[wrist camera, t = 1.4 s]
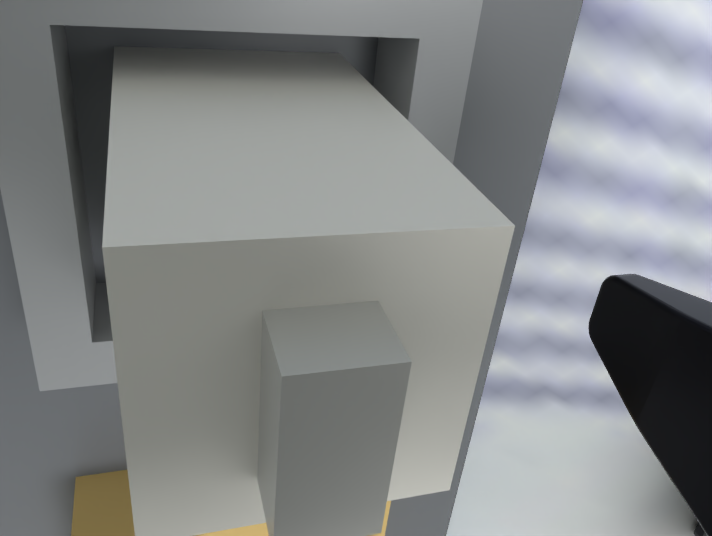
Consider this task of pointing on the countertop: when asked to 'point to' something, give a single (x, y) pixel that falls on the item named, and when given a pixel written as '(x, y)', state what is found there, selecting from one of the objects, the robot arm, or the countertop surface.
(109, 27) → the multicoloured flat piece
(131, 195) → the plug
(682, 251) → the countertop surface
